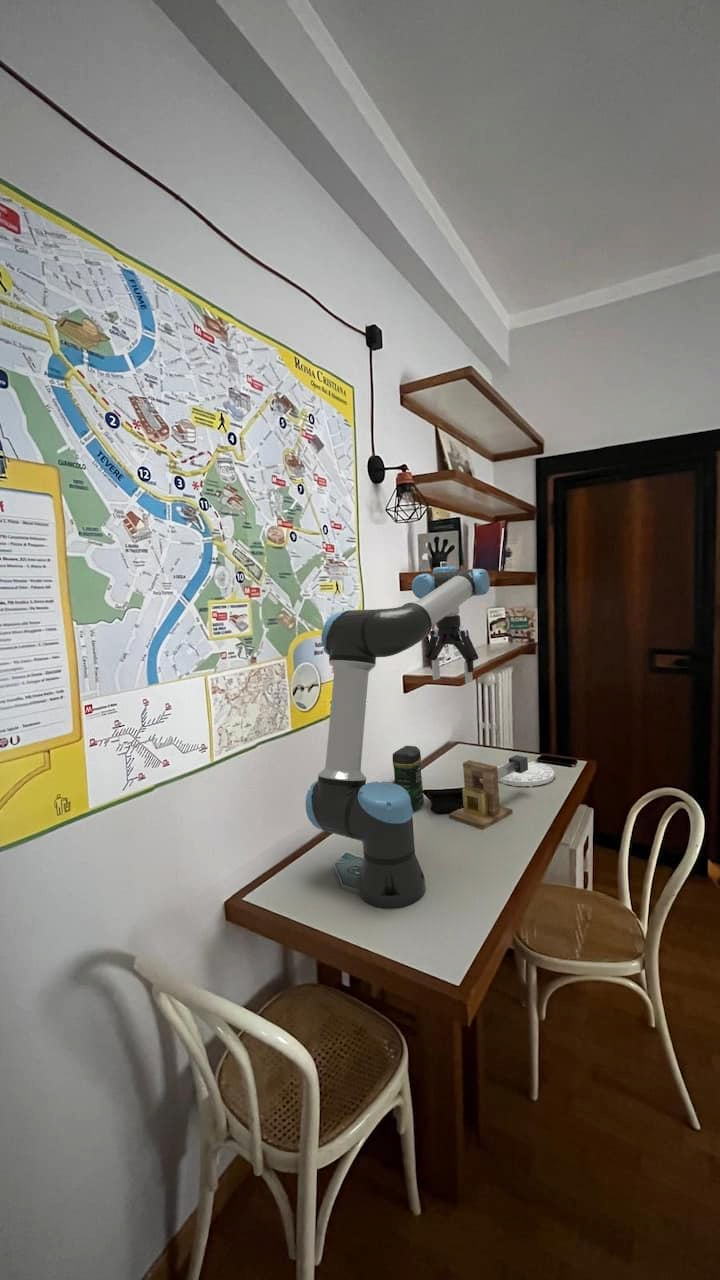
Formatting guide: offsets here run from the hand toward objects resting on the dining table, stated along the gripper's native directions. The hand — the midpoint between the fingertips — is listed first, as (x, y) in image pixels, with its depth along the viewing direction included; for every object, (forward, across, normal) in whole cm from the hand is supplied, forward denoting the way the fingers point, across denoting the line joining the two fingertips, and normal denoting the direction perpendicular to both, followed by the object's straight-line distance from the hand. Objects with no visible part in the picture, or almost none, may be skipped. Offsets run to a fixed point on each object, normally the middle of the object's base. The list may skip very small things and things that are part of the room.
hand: (452, 680), depth 174 cm
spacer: (+32, -17, +13) cm, 39 cm away
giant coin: (+37, -9, -23) cm, 45 cm away
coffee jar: (+37, +4, +19) cm, 42 cm away
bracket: (+37, -17, +10) cm, 42 cm away
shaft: (+29, -17, 0) cm, 33 cm away
